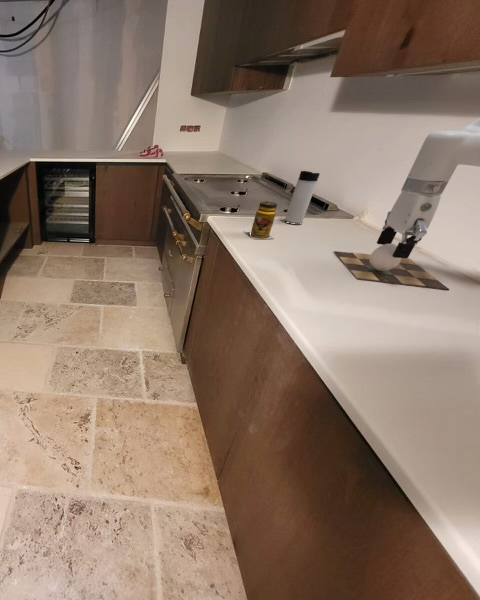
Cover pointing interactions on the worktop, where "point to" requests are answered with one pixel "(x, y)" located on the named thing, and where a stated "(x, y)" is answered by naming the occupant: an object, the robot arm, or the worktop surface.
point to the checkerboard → (389, 271)
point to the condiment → (263, 221)
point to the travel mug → (301, 197)
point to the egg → (384, 258)
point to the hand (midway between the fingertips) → (391, 250)
